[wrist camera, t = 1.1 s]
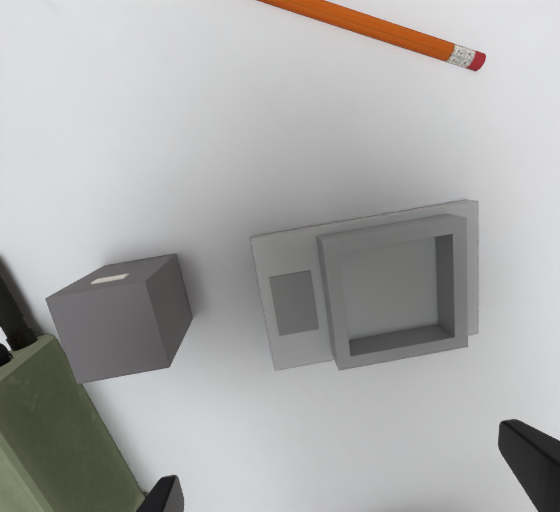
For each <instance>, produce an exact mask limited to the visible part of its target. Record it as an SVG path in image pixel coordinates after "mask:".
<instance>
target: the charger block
mask: <svg viewBox="0 0 560 512" xmlns="http://www.w3.org/2000/svg"><path fill="white" fill-rule="evenodd" d="M45 300H46V302H47V305H48V308H49V310H50V313H51V316H52V318H53V321H54V324H55V326H56V329H57V331H58V334H59V337H60V339H61V342H62V345H63V347H64V350H65V353H66V355H67V358H68V361H69V363H70V366H71V369H72V371H73V374H74V377H75V379H76V382H77V384H81V383H86V382H92V381H97V380H103V379H108V378H114V377H119V376H125V375H130V374H136V373H141V372H147V371H153V370H158V369H164V368H169V367H170V365H171V363H172V361H173V359H174V357H175V355H176V353H177V351H178V349H179V346H180V344H181V342H182V340H183V338H184V336H185V334H186V332H187V330H188V327H189V325H190V323H191V321H192V319H193V318H192V314H191V310H190V306H189V302H188V298H187V294H186V290H185V286H184V282H183V278H182V274H181V271H180V267H179V263H178V259H177V255H176V254H170V255H164V256H158V257H153V258H147V259H141V260H135V261H129V262H123V263H118V264H112V265H106V266H103V267H101V268H99V269H97V270H96V271H94V272H92V273H90V274H88V275H87V276H85V277H83V278H81V279H80V280H78V281H76V282H74V283H72V284H71V285H69V286H67V287H65V288H63V289H62V290H60V291H58V292H56V293H54V294H53V295H51V296H49V297H47V298H45Z"/></svg>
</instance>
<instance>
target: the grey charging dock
mask: <svg viewBox="0 0 560 512" xmlns="http://www.w3.org/2000/svg"><path fill="white" fill-rule="evenodd" d="M250 242H251V247H252V252H253V258H254V263H255V268H256V274H257V279H258V284H259V290H260V295H261V300H262V306H263V311H264V316H265V321H266V327H267V332H268V337H269V343H270V348H271V353H272V359H273V364H274V369H275V371H277V370H282V369H287V368H293V367H298V366H304V365H309V364H315V363H320V362H326V361H331V360H335V362H336V365H337V367H338V369H339V370H344V369H350V368H355V367H361V366H366V365H372V364H377V363H382V362H388V361H393V360H399V359H404V358H410V357H415V356H421V355H426V354H431V353H437V352H442V351H448V350H453V349H459V348H464V347H468V335H473V334H478V201H474V200H464V201H458V202H452V203H446V204H440V205H434V206H429V207H423V208H417V209H411V210H405V211H399V212H393V213H388V214H382V215H376V216H370V217H364V218H358V219H352V220H347V221H341V222H335V223H329V224H323V225H317V226H311V227H306V228H300V229H294V230H288V231H282V232H276V233H270V234H265V235H259V236H253V237H250Z"/></svg>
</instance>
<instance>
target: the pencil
mask: <svg viewBox="0 0 560 512" xmlns="http://www.w3.org/2000/svg"><path fill="white" fill-rule="evenodd" d="M258 1H261V2H264V3H268V4H271V5H274V6H277V7H280V8H283V9H286V10H289V11H292V12H295V13H298V14H301V15H305V16H308V17H311V18H314V19H317V20H320V21H323V22H326V23H329V24H332V25H335V26H338V27H342V28H345V29H348V30H351V31H354V32H357V33H360V34H363V35H366V36H369V37H372V38H375V39H378V40H382V41H385V42H388V43H391V44H394V45H397V46H400V47H403V48H406V49H409V50H412V51H415V52H419V53H422V54H425V55H428V56H431V57H434V58H437V59H440V60H443V61H446V62H449V63H452V64H456V65H459V66H462V67H465V68H468V69H471V70H474V71H477V70H479V69H480V68H481V67H482V65H483V64H484V62H485V59H486V55H485V54H484V53H481V52H478V51H475V50H472V49H469V48H466V47H463V46H460V45H457V44H454V43H451V42H448V41H445V40H442V39H439V38H436V37H433V36H430V35H427V34H424V33H421V32H418V31H415V30H412V29H409V28H406V27H403V26H400V25H397V24H394V23H391V22H388V21H385V20H382V19H379V18H376V17H373V16H370V15H367V14H364V13H361V12H358V11H355V10H352V9H349V8H346V7H343V6H340V5H337V4H334V3H331V2H328V1H325V0H258Z"/></svg>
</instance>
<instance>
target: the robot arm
mask: <svg viewBox="0 0 560 512" xmlns="http://www.w3.org/2000/svg"><path fill="white" fill-rule="evenodd" d="M498 446H499V450H500V452H501V454H502V456H503V457H504V459H505V460H506V462H507V464H508V465H509V467H510V468H511V470H512V471H513V473H514V474H515V476H516V478H517V479H518V481H519V482H520V484H521V485H522V487H523V489H524V490H525V492H526V493H527V495H528V496H529V498H530V499H531V501H532V503H533V504H534V506H535V507H536V509H537V510H538V512H560V441H559V440H557V439H555V438H553V437H551V436H549V435H547V434H545V433H543V432H541V431H539V430H537V429H535V428H533V427H531V426H529V425H527V424H525V423H523V422H521V421H519V420H517V419H511V420H505V421H501V423H500V425H499V437H498ZM135 512H184V496H183V493H182V489H181V485H180V482H179V478H178V476H177V475H171V476H165V477H162V478H161V479H160V480H159V481H158V482H157V483H156V485H155V486H154V487H153V489H152V490H151V491H150V493H149V494H148V495H147V497H146V498H145V499H144V501H143V502H142V503H141V505H140V506H139V507H138V509H137V510H136V511H135Z"/></svg>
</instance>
